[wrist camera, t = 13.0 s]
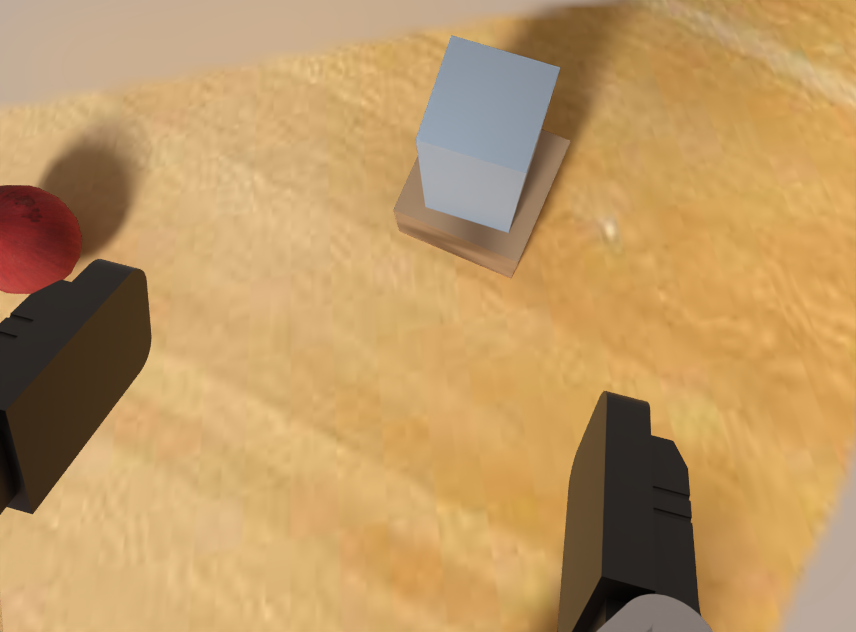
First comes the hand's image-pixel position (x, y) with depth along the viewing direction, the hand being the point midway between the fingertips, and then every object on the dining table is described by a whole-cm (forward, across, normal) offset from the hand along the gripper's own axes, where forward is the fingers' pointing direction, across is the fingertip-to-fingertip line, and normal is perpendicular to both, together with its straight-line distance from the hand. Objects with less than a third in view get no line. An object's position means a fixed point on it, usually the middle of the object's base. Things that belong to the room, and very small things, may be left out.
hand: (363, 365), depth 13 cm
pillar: (+26, 0, +10) cm, 28 cm away
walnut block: (+30, 0, +14) cm, 33 cm away
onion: (+24, +23, +20) cm, 39 cm away
